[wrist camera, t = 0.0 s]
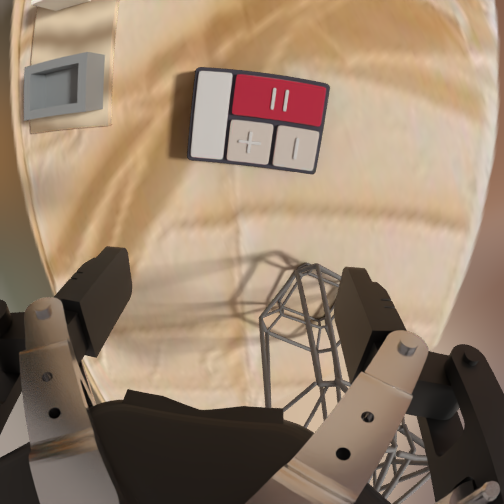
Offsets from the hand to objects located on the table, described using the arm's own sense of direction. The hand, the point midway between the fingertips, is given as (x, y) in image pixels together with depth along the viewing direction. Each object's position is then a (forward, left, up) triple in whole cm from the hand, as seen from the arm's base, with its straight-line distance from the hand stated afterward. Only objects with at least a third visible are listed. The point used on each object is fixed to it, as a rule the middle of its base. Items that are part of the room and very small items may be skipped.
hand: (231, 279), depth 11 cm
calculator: (-4, 0, -30) cm, 30 cm away
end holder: (-9, -25, -28) cm, 39 cm away
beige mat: (-16, -26, -29) cm, 43 cm away
